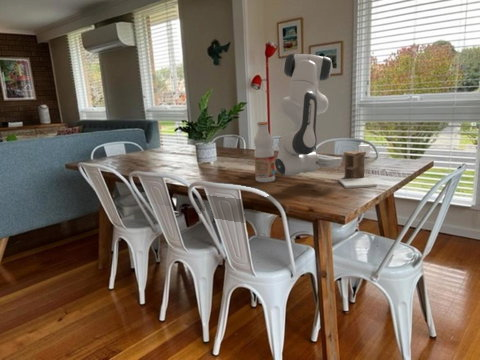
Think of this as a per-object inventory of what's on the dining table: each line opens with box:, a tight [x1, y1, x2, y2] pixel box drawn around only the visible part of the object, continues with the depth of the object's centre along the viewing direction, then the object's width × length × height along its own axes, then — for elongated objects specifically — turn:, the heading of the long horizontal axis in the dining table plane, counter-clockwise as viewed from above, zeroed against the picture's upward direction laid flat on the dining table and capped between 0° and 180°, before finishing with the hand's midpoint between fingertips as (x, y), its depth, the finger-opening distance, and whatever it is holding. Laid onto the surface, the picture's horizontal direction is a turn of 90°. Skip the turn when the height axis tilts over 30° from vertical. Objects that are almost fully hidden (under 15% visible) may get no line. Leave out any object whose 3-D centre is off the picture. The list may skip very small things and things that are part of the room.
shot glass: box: [358, 143, 372, 158], centre depth 221 cm, size 7×7×7 cm
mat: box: [338, 177, 378, 189], centre depth 160 cm, size 13×12×1 cm
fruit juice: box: [253, 121, 276, 183], centre depth 174 cm, size 9×9×28 cm
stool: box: [343, 149, 366, 179], centre depth 171 cm, size 7×7×12 cm
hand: (334, 157), depth 164 cm, fingers open, 8 cm apart
